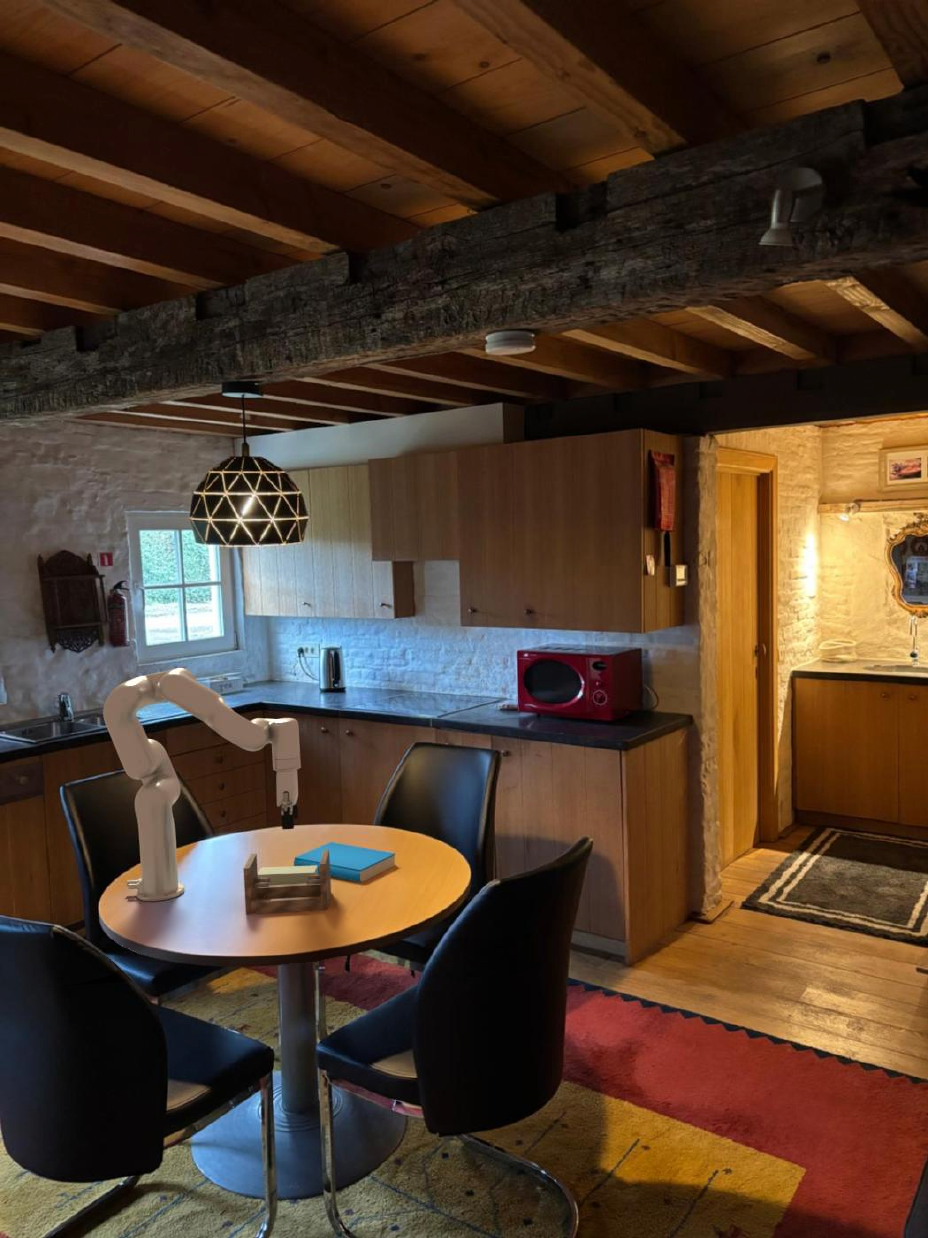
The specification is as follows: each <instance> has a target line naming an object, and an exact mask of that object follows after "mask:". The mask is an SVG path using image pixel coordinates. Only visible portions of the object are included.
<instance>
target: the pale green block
mask: <svg viewBox="0 0 928 1238" xmlns="http://www.w3.org/2000/svg"><path fill="white" fill-rule="evenodd" d="M308 875H319V874H318V865H316V866H294V865H293V866H270V867H269V866H267V867H264V866H263V867H262V866H261V867H260V869H259V870H258V878H270V877H271V882H269V885H287V884H304V883H307V880H308Z"/></svg>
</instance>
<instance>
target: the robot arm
mask: <svg viewBox="0 0 928 1238" xmlns="http://www.w3.org/2000/svg"><path fill="white" fill-rule="evenodd" d="M163 702H168V703H170V704H172V705H174V706H176V708H177V707H178V708H179V709H181V710H182V711H185V712H186V713H188V714H190V715H192V716H193V717H195V718H196V719H199V720H200V721H202V722H204V724H206V726H208V727H209V728H210V729H212V730H213V731H214V732H216V734H218V735H220V736H221V737H222V738H224V739H225V740H227V741H229V743H232V744H234V745H236V746H238V747H239V748H241V749H243V750H245V751H249V752H256V751H260V750H262V749H264V747H265V746H266V745H268V744H271V749H272V751H271V752H272V768H273V771H275V772H276V776H275V777H276V779H275V780H276V786H275V787H276V806H277V807H279V808H280V807H281V815H280V816H281V817H280V818H281V829H282V830H293V829H295V820H297V819H298V818H299V809H298V807H299V806H298V797H299V783H298V781H299V780H298V770H299V769H301V768H302V765H301V749H300V732H299V722H298V720H297V719H296V718H293V717H292V718H291V717H282V718H276V719H275V718H262V717H261V718H260V717H257V718H253V719H251V720H249V719H247V718H246V717H244V716H242V715H240V714H239V713H237V712H235V710H234V709H232V707H230V706H229V705H228V703H227V701H226V700H225V697H223V696H222V695H221V694H220V693H219V692H217V691H215V690H213V689H212V688H209V687H208V686H206V685H204V684H202V683H201V682H199V681H197V678H196V677H195V675H194V673H193V672H192V671H191V670H189V669H187V668H183V667H178V668H173V669H168V670H166V671H159V672H155V673H150V674H146V675H139V676H137V677H134V678H131V679H129V680H126V681H124V682H122V683H121V684H119V685H118V686H116V687H115V688H114V689H113V690H112V691H111V692H110V694H109V695H108V696H107V698H106V699H105V702H104V705H103V710H102V711H103V719H104V723H105V727H106V728H107V731H108V733H109V736H110V738H111V740H112V743H113V745H114V748H115V750H116V753H117V755H118V757H119V759H120V762H121V764H122V767H123V770H124V772H125V773H126V774H127V776H128V777H129V778H131V779H133V780H137V781H138V780H141V782H142V786H141V787H140V788H139V790H138V791H137V792H136V796H135V799H134V810H135V815H136V820H137V829H138V841H139V856H140V871H141V872H140V873H141V874H140V875H141V877H140V878H138V879H127V880H126V888H128V890H135V889H137V891H136V897H137V899H138V900H141V901H145V902H159V901H164V900H169V899H173V898H175V897H178V896H180V895H181V894H183V893H184V891H185V885H184V884H183V883H182V882H181V883H180V882H179V874H178V872H179V871H178V860H177V859H178V858H177V857H178V856H177V839H176V827H175V826H176V825H175V819H174V814H173V805H174V804H175V803H176V801H177V800H179V799H178V798H179V797H180V795H181V785H180V784H181V783H180V780H179V778H178V775H177V773H176V770H175V769H174V767H173V764H172V761H171V759H170V757H169V755H168V753H167V751H166V749H165V747H164V746H163V745H162V743H160V742H159V741H158V740H155V739H150V738H148V736H147V735H146V732H145V729H144V726H143V725H142V724H141V722H140V720H139V719H138V717H137V712H138V711H139V710H141V709H144V708H145V707H147V706H150V705H154V704H158V703H163Z"/></svg>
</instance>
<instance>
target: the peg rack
mask: <svg viewBox="0 0 928 1238" xmlns="http://www.w3.org/2000/svg"><path fill="white" fill-rule="evenodd" d="M258 871H259V870H258V854H257V853H251V854H250V855H249V857H248V859H247V860H246V862H245V864H244V867H243V871H242V872H243V889H244V890H243V891H244V905H245V909H244V910H245V915H249V914H250V915H253V914H271V913H285V912H286V913H287V912H303V911H305V912H306V911H320V910H321V911H322V910H328V907H329V903H330V901H331V900H330V899H331V894H332V883H331V882H332V881H331V876H330V858H329V850H323V854H322V857H321V861H320V874H318V875H308V880H307V883H304V884H287V885H269V882H271V877H270V878H258Z"/></svg>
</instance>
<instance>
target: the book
mask: <svg viewBox="0 0 928 1238" xmlns="http://www.w3.org/2000/svg"><path fill="white" fill-rule="evenodd" d="M323 850H329V858H330V877H333V878H339V879H342V880H348V881H353V882H358V883H362V882H364V881H366V880H368V879H370V878H372V877H374V876H376V875H378V874H380V873H381V872H384V871H386V870H388V869H390V868H392V867H394V866H396V861H395V859H396V853H394V852H390V851H383V850H378V849H373V848H366V847H362V846H357V845H349V844H343V843H338V842H333V841H330V842H328V843H325V844H323V845H321V846H319V847H316V848H314V849H311V850H308V851H307V852H304V853H302V854H299V855H297V856H295V857H294V861H293V866H316V865H318V875H320V861H321V857H322V854H323Z"/></svg>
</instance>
